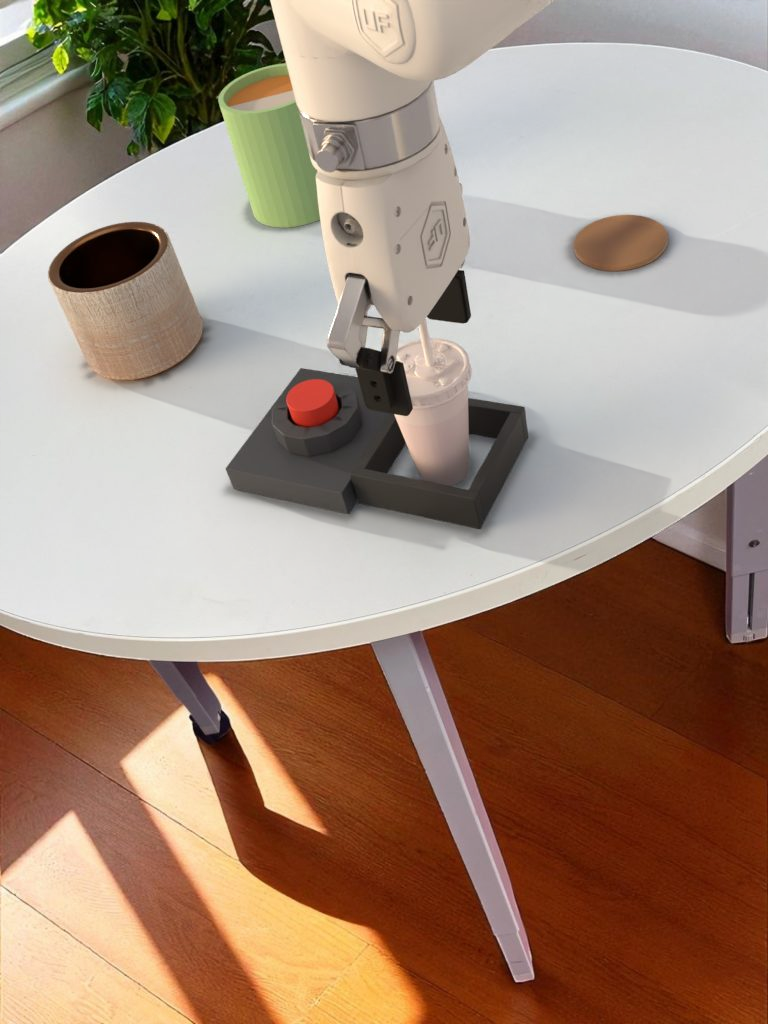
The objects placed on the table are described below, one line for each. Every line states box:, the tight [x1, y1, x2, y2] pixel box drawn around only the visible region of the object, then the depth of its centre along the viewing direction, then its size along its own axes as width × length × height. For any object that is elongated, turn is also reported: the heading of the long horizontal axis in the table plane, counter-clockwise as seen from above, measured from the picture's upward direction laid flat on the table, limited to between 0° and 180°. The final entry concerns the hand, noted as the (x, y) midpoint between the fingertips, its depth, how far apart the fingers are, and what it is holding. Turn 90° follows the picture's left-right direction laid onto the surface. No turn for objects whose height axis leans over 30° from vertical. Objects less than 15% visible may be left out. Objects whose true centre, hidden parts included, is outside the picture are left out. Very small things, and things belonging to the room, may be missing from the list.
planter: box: [47, 221, 204, 381], centre depth 93 cm, size 11×11×10 cm
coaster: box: [573, 214, 669, 272], centre depth 93 cm, size 8×8×1 cm
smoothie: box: [394, 317, 473, 487], centre depth 73 cm, size 6×6×14 cm
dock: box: [350, 397, 529, 530], centre depth 77 cm, size 10×10×3 cm
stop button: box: [286, 379, 339, 428], centre depth 79 cm, size 4×4×2 cm
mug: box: [217, 62, 320, 228], centre depth 107 cm, size 13×10×12 cm
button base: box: [225, 367, 389, 515], centre depth 81 cm, size 10×12×4 cm
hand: (420, 362), depth 71 cm, fingers open, 9 cm apart
